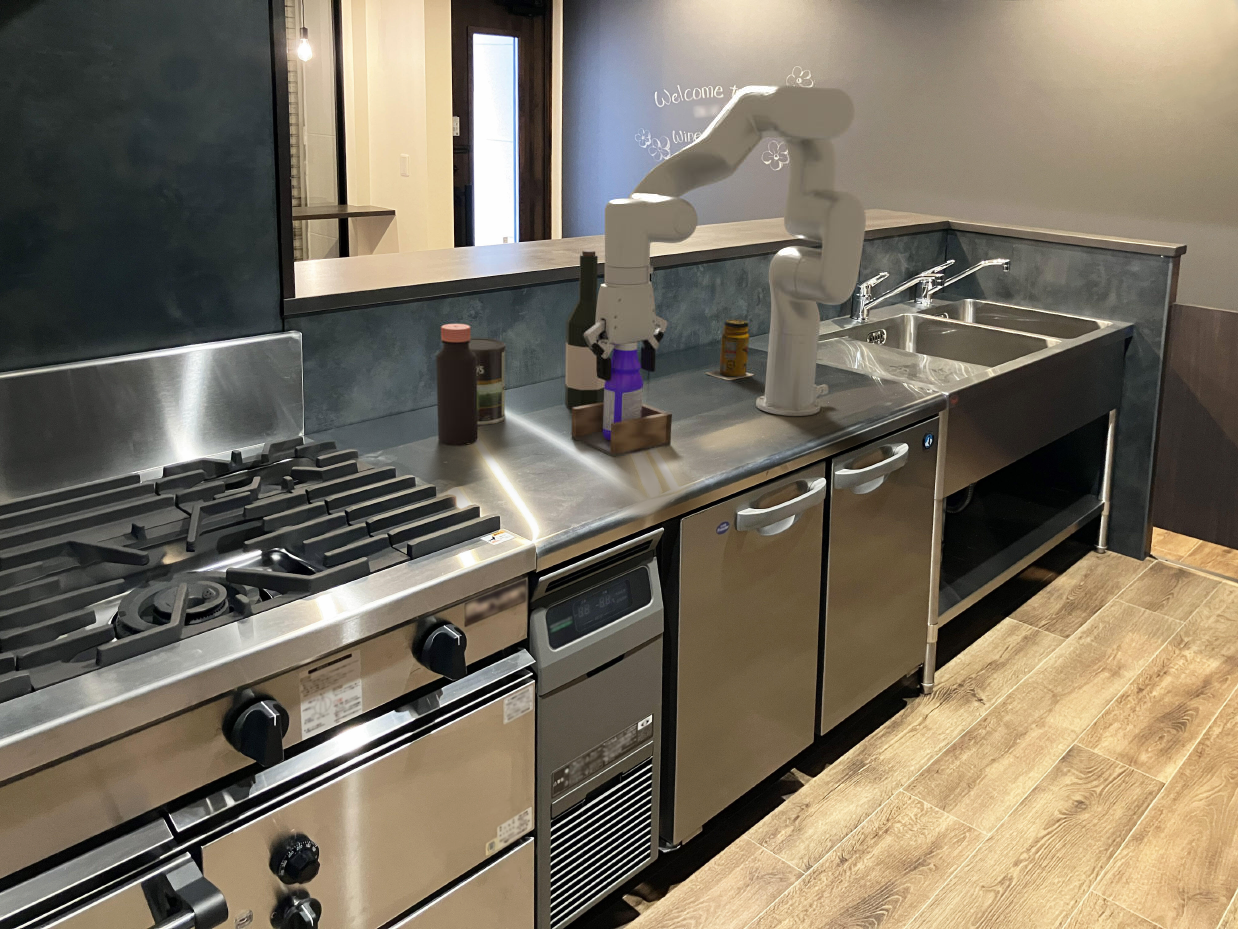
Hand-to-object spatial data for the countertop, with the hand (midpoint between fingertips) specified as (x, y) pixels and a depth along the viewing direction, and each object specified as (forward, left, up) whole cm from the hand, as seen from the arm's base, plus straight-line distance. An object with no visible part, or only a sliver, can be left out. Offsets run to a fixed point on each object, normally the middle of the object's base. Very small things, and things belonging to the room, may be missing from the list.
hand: (626, 374), depth 179 cm
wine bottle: (-8, -22, -12) cm, 26 cm away
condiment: (-50, -25, -12) cm, 57 cm away
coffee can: (+14, -26, -12) cm, 32 cm away
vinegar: (+24, -16, -12) cm, 31 cm away
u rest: (+1, 0, -12) cm, 12 cm away
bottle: (+1, 0, -12) cm, 12 cm away
